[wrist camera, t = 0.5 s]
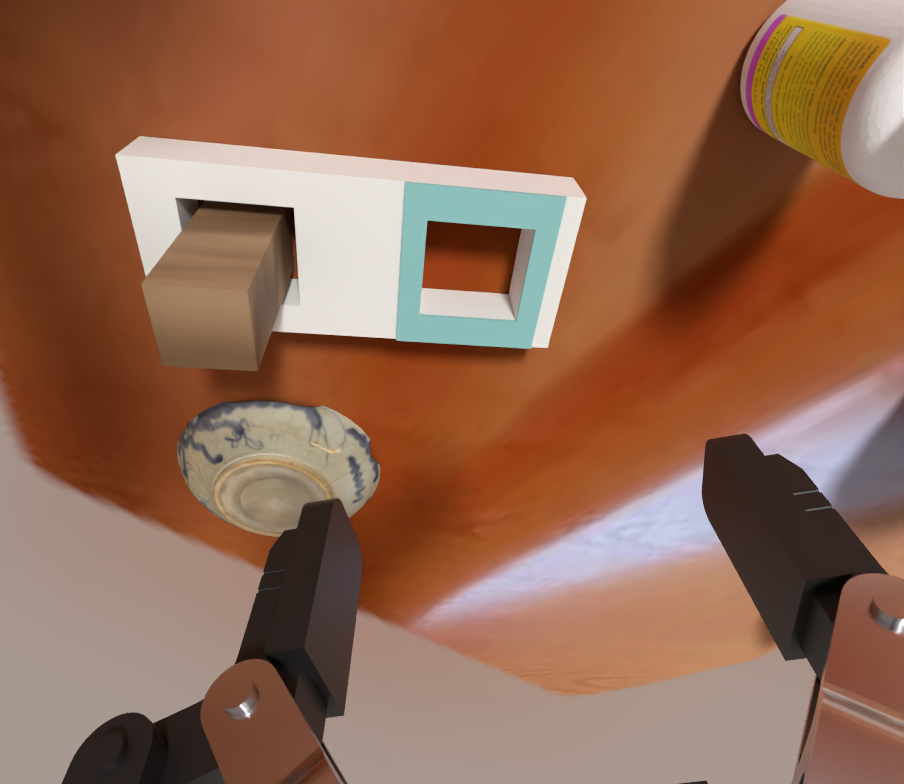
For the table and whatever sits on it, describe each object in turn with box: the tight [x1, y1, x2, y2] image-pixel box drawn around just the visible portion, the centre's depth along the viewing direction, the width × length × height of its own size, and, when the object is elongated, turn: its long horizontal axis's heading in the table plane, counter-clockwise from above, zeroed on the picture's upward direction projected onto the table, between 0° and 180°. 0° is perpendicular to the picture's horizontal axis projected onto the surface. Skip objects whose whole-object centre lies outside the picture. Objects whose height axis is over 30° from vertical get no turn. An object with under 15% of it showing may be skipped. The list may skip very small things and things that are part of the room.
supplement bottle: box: [740, 0, 904, 199], centre depth 22 cm, size 7×7×13 cm
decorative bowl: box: [177, 400, 380, 537], centre depth 42 cm, size 15×4×15 cm
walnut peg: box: [141, 200, 294, 371], centre depth 27 cm, size 4×4×10 cm
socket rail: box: [116, 136, 587, 349], centre depth 31 cm, size 9×22×3 cm, turn 84°
